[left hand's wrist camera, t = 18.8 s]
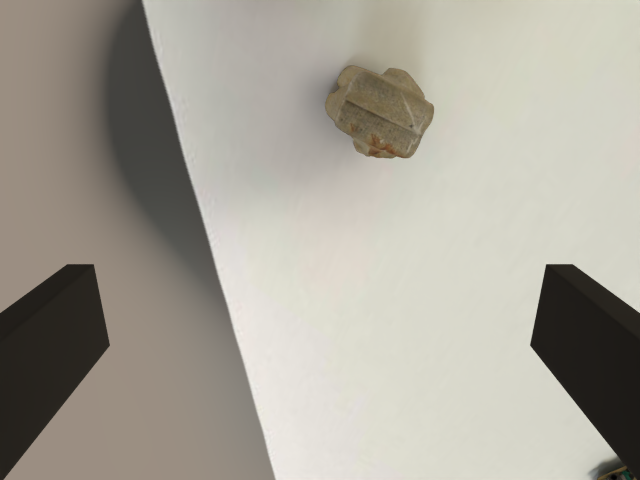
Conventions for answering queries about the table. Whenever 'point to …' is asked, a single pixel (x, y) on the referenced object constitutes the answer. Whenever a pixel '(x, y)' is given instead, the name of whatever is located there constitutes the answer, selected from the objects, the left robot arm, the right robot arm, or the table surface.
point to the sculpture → (380, 111)
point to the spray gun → (618, 475)
